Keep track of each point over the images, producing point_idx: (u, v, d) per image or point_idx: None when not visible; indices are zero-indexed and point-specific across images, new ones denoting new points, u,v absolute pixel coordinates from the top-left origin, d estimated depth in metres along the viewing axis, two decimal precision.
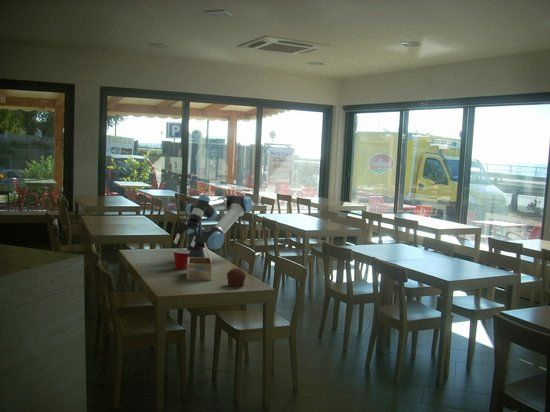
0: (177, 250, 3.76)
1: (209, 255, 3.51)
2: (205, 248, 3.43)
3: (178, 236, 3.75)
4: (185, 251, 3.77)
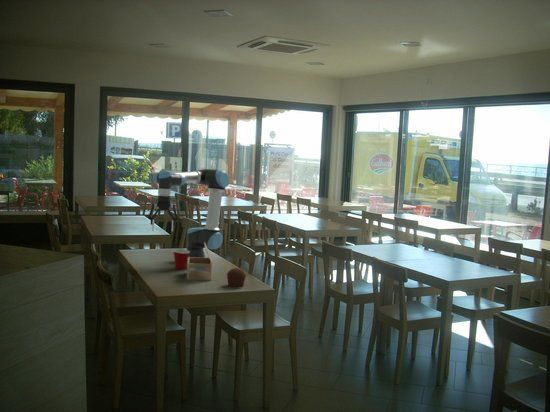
0: (177, 250, 3.76)
1: (209, 255, 3.51)
2: (205, 248, 3.43)
3: (153, 222, 3.55)
4: (185, 251, 3.77)
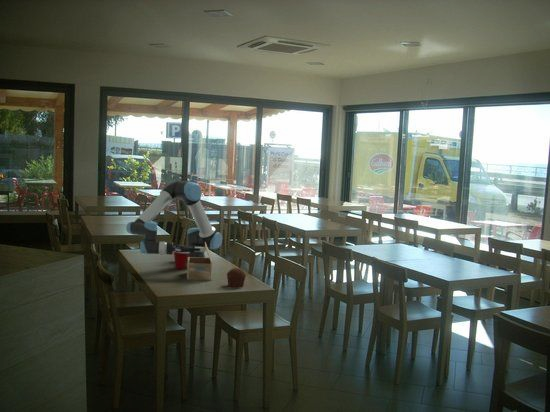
0: None
1: (209, 255, 3.51)
2: (206, 248, 3.43)
3: None
4: None
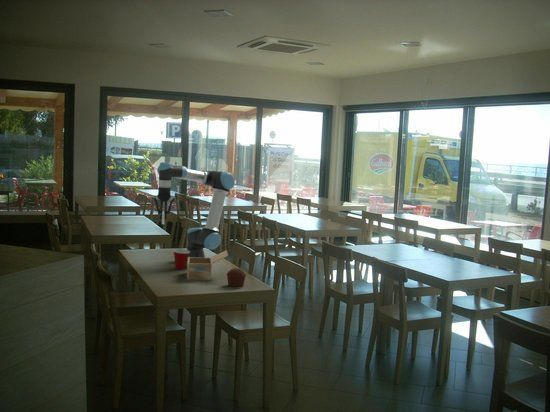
0: (177, 250, 3.76)
1: (217, 258, 3.51)
2: (226, 256, 3.45)
3: None
4: (185, 251, 3.77)
